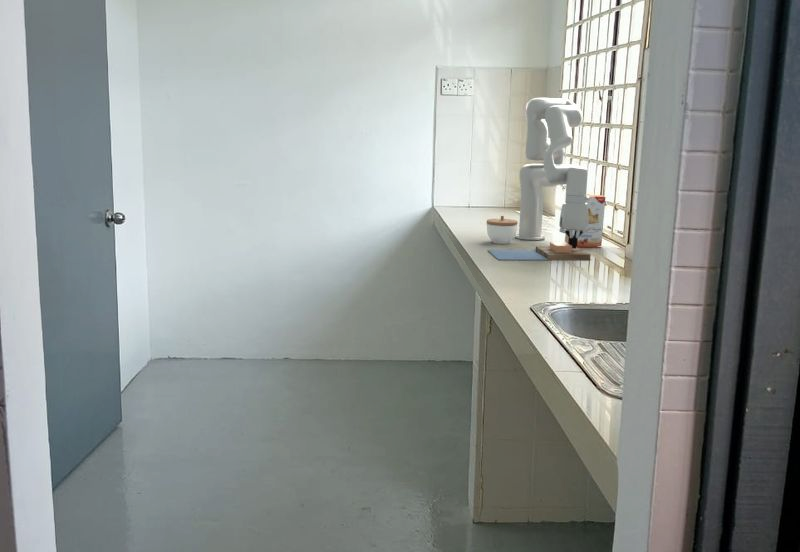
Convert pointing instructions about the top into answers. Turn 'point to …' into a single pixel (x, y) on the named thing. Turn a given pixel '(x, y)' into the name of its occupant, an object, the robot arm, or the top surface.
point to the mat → (517, 255)
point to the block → (561, 247)
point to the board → (562, 254)
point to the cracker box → (592, 223)
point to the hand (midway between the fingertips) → (572, 247)
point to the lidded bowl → (501, 230)
